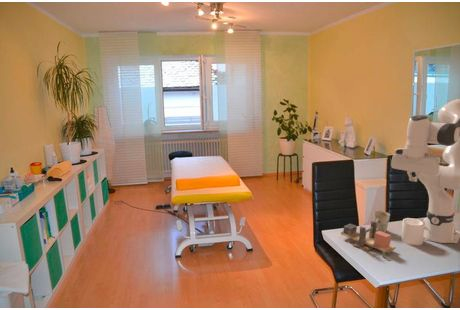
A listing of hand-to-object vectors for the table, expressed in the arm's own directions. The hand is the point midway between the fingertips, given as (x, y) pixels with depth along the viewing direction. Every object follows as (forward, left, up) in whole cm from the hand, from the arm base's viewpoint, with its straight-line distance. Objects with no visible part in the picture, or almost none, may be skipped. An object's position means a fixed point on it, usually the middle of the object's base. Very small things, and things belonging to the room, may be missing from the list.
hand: (413, 181), depth 161 cm
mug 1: (-16, -22, -37) cm, 46 cm away
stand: (+4, -14, -37) cm, 40 cm away
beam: (+4, -18, -35) cm, 40 cm away
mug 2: (-18, -4, -37) cm, 42 cm away
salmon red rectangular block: (+4, -10, -34) cm, 36 cm away
